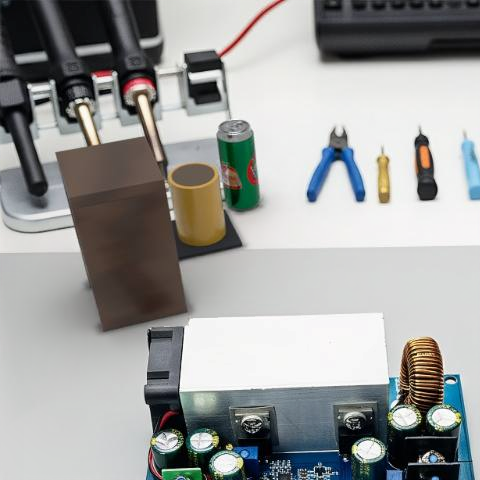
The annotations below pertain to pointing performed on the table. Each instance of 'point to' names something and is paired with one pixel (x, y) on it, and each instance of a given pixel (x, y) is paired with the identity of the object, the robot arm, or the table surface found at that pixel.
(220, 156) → the soda can
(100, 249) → the tall brown wooden block
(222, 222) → the cup
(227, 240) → the mat
